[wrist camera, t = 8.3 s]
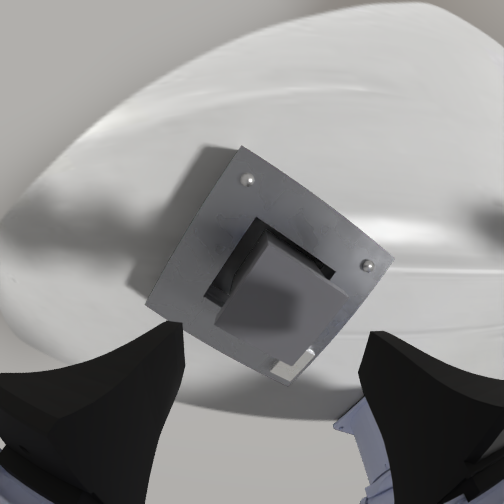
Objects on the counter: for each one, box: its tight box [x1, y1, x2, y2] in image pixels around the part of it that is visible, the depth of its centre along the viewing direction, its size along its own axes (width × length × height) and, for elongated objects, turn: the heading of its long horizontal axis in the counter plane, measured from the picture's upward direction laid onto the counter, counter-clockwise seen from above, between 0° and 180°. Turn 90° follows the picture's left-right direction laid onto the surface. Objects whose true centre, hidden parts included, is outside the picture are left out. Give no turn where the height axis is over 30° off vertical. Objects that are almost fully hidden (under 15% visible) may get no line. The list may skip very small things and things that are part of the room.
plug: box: [214, 229, 349, 366], centre depth 16 cm, size 5×5×7 cm
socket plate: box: [145, 146, 395, 386], centre depth 18 cm, size 12×12×3 cm
